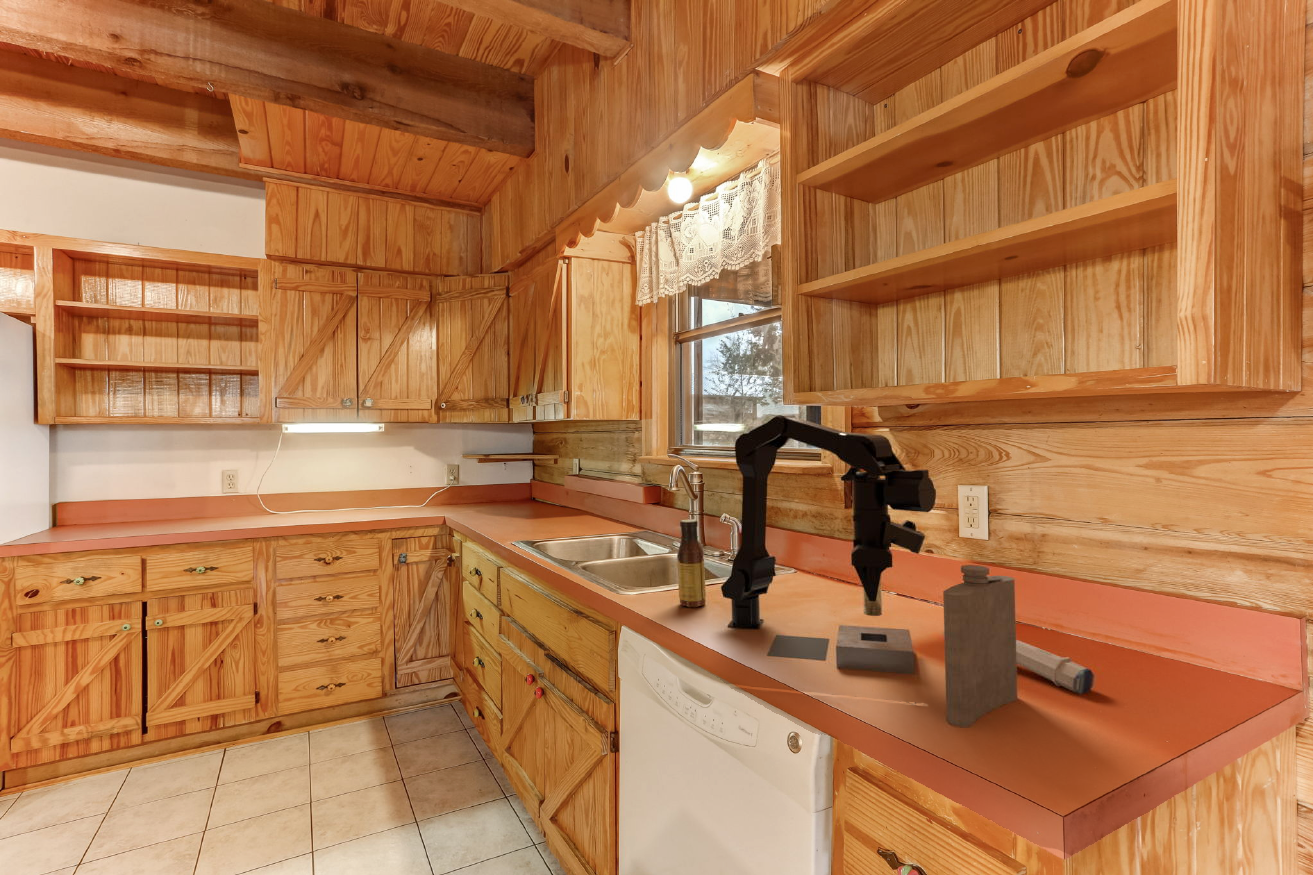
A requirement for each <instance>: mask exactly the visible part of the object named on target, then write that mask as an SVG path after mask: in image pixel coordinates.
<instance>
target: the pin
mask: <svg viewBox="0 0 1313 875" xmlns="http://www.w3.org/2000/svg"><path fill="white" fill-rule="evenodd" d="M862 589H863V590H862V595H863V596H862V597H863V601H862V602H863V615H866V616H871V617H879V616H882V615H883V595H882V594H883V593H882V589H883V588H882V577H881V578H880V583H879V588H878V593H877V598H876V601H869V599H868V597H867V595H866V592H865V590H864V588H863V587H862Z"/></svg>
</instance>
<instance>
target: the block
mask: <svg viewBox="0 0 1313 875" xmlns="http://www.w3.org/2000/svg"><path fill="white" fill-rule="evenodd" d="M837 631H838V632H837V638H836V644H835V657H836V659H835V660H836V661H835V662H836V669H845V670H846V669H848V670H859V671H868V672H869V671H870V672H881V673H894V674H895V673H896V674H906V675H915V654H914V652H915V651H914V645H913V642H912V637H911V632H910V631H911V630H910V629H907V628H906V629H905V628H892V627H891V628H890V627H889V628H888V627H877V626H876V627H874V626H863V625H862V626H861V625H860V626H859V625H843V624H839V626H838V630H837Z"/></svg>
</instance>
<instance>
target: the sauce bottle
mask: <svg viewBox="0 0 1313 875" xmlns="http://www.w3.org/2000/svg"><path fill="white" fill-rule="evenodd" d="M698 524H699V523H698V519H693V518H690V519H689V518H688V519H682V520H680V521H679V526H680V531H681V532H680V533H681V537H680V538H681V539H680V543H679V547H678V552H677V554H676V555H677V556H676V560H677V561H676V562H677V577H678V578H677V579H678V580H677V581H678V598H679V604H680V605H681V606H682V607H685V606H687V607H686V608H691V607H695V608H699V606H701V607H703V606H705V605H706V602H707V601H706V598H707V592H706V591H707V590H706V574H705V559H704V548H703V546H702V544H701V543H700V541H699V539H698V538H699V536H698Z"/></svg>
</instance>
